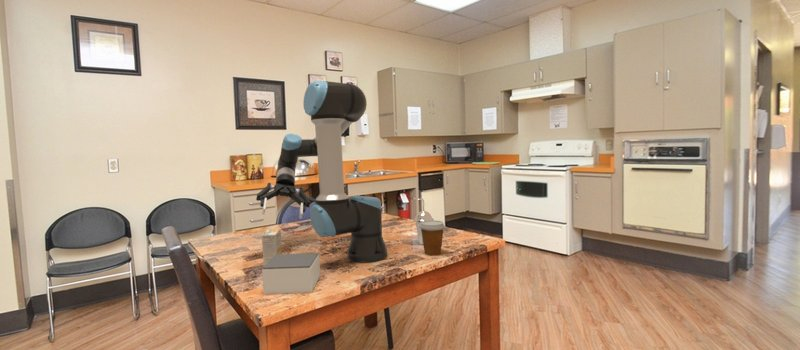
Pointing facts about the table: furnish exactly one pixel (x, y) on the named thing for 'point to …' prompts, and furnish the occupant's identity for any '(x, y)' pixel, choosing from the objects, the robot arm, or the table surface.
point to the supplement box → (271, 244)
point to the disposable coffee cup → (432, 236)
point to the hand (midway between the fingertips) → (282, 214)
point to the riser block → (291, 273)
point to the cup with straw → (421, 220)
